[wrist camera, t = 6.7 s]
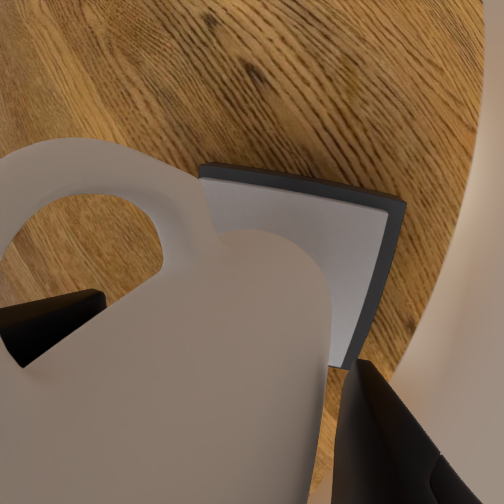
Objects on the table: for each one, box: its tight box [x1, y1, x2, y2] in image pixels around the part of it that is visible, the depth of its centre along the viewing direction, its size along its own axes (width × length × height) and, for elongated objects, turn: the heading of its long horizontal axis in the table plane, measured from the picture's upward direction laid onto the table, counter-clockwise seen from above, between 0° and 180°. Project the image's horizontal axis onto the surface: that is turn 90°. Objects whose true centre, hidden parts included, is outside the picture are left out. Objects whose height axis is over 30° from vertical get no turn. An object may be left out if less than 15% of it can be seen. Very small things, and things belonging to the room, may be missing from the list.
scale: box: [198, 162, 407, 370], centre depth 19 cm, size 12×12×3 cm
